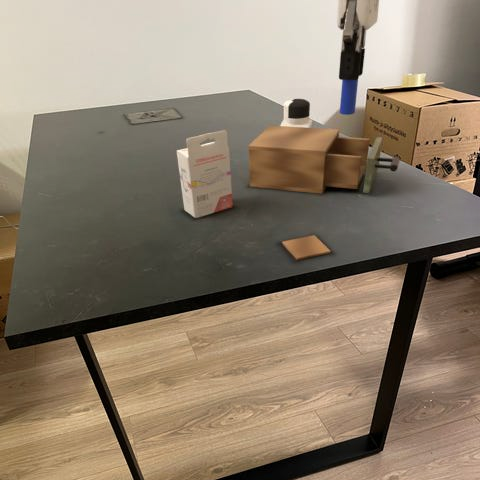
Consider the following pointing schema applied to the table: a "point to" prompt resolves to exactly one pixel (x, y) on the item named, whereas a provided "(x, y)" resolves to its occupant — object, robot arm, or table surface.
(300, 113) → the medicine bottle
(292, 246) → the coaster
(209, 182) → the ink cartridge box
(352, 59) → the robot arm
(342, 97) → the marker
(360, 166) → the drawer
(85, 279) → the table surface
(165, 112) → the mousepad
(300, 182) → the cabinet
